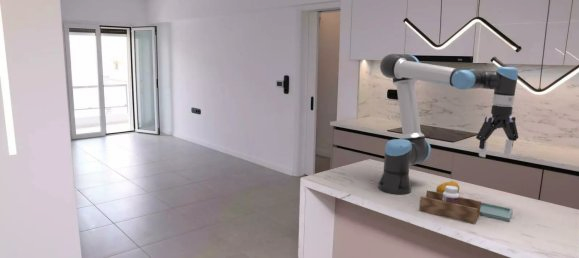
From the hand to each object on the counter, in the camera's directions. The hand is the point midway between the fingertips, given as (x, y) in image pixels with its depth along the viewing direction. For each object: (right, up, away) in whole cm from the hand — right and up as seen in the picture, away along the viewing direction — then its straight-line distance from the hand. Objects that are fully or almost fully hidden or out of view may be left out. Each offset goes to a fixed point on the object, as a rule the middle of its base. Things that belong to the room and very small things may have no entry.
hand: (494, 155), depth 167 cm
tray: (-1, -24, -1) cm, 24 cm away
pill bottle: (-20, -23, -3) cm, 31 cm away
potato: (-14, -20, +15) cm, 29 cm away
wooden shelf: (-20, -23, -3) cm, 31 cm away
